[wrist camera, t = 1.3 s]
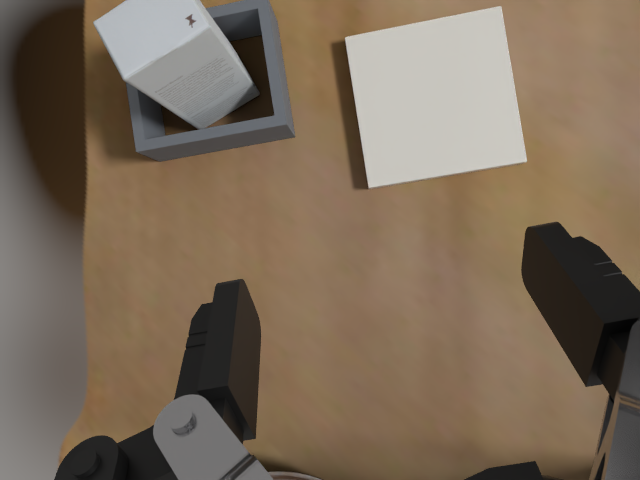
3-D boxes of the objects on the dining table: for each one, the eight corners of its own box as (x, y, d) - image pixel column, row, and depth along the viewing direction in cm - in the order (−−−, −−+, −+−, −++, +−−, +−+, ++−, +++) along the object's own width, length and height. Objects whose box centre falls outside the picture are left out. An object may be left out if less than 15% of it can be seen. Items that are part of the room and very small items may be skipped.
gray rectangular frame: (143, 49, 39) (117, 27, 35) (277, 21, 37) (266, -5, 33) (159, 161, 38) (136, 152, 34) (295, 137, 37) (286, 124, 33)
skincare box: (236, 51, 38) (177, -38, 26) (261, 95, 38) (213, 26, 26) (175, 89, 38) (88, 20, 26) (199, 133, 38) (123, 83, 26)
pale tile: (345, 42, 37) (344, 37, 36) (497, 12, 36) (501, 5, 35) (368, 189, 37) (368, 187, 36) (522, 163, 35) (526, 161, 34)
